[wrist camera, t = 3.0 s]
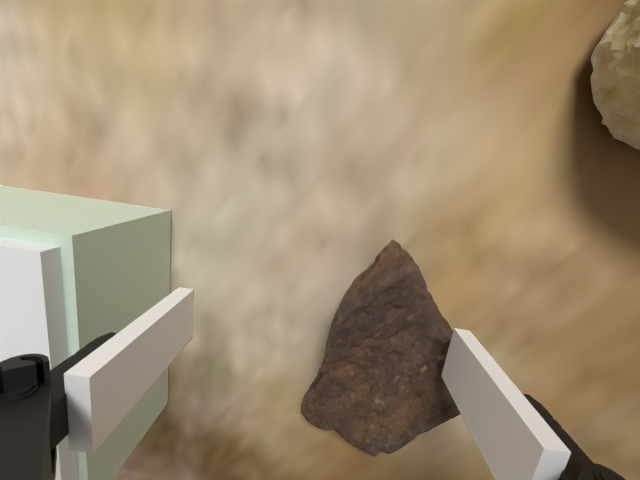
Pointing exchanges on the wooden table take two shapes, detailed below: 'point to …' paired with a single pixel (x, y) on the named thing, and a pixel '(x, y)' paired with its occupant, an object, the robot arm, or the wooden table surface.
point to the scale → (82, 295)
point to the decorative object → (619, 75)
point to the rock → (383, 360)
